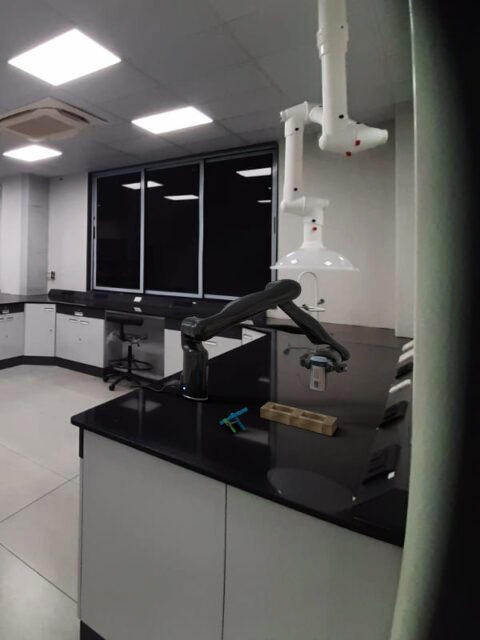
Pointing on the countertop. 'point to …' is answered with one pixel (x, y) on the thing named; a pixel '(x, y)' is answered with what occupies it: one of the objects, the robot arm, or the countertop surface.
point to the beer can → (318, 373)
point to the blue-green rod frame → (235, 418)
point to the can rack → (299, 418)
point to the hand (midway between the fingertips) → (317, 368)
